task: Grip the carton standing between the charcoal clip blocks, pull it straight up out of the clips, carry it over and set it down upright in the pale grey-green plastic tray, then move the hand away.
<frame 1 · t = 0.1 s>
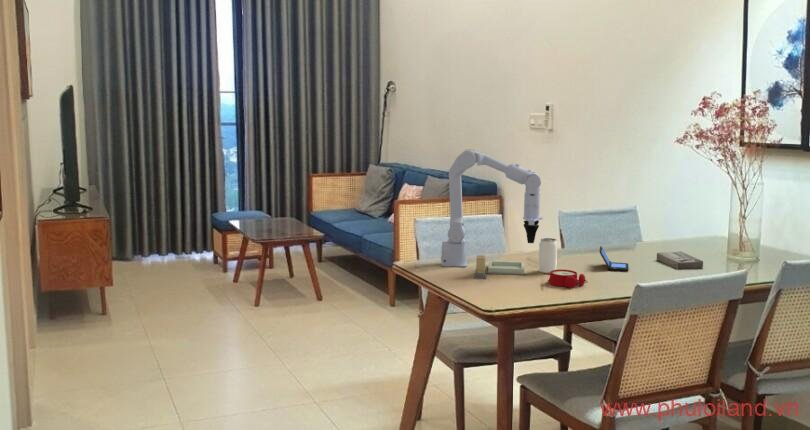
hand: (530, 241, 292), 10 cm above the table, fingers open, 7 cm apart
can: (547, 272, 287), on the table
carton: (480, 275, 279), on the table
tray: (506, 270, 288), on the table
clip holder: (480, 275, 279), on the table
box: (679, 265, 301), on the table
handheld game console: (613, 268, 294), on the table
alarm clock: (567, 285, 267), on the table
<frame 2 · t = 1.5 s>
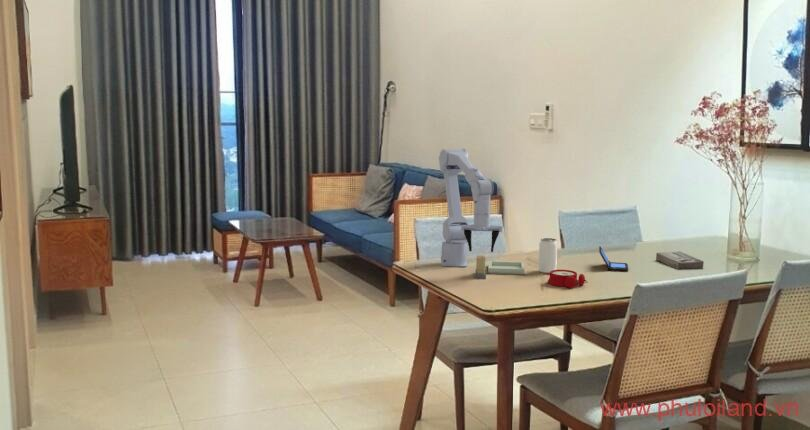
hand: (481, 251, 278), 9 cm above the table, fingers open, 7 cm apart
nothing on the table moved.
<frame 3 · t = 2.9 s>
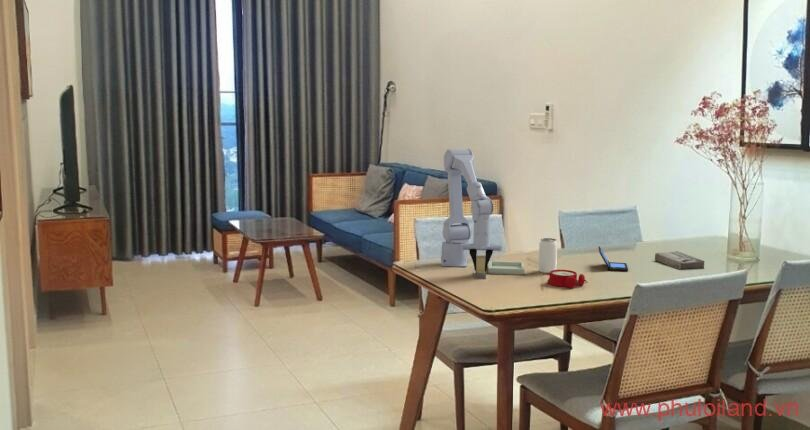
hand: (480, 270, 279), 2 cm above the table, fingers closed on carton, 3 cm apart
carton: (480, 275, 279), on the table, touching gripper
everything else where it was.
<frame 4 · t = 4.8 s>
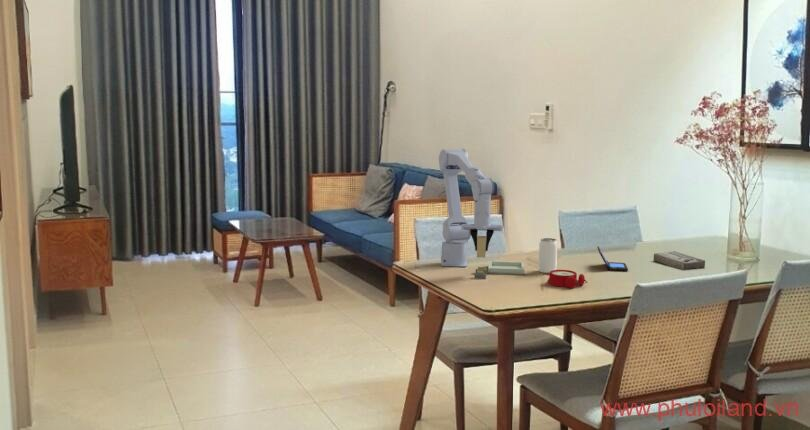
hand: (481, 250, 278), 9 cm above the table, fingers closed on carton, 3 cm apart
carton: (481, 256, 278), point 7 cm above the table, touching gripper
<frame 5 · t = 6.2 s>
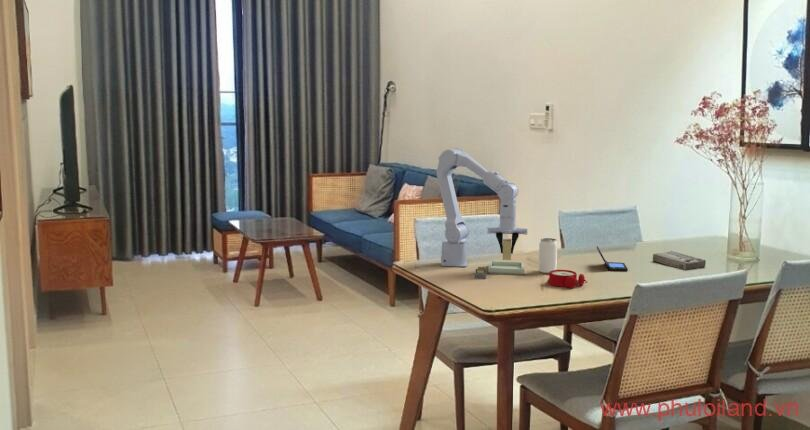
hand: (506, 253, 287), 6 cm above the table, fingers closed on carton, 3 cm apart
carton: (506, 258, 287), point 4 cm above the table, touching gripper
when the fingers open (4 cm above the table, at t = 7.0 s): carton drops 1 cm, resting on tray.
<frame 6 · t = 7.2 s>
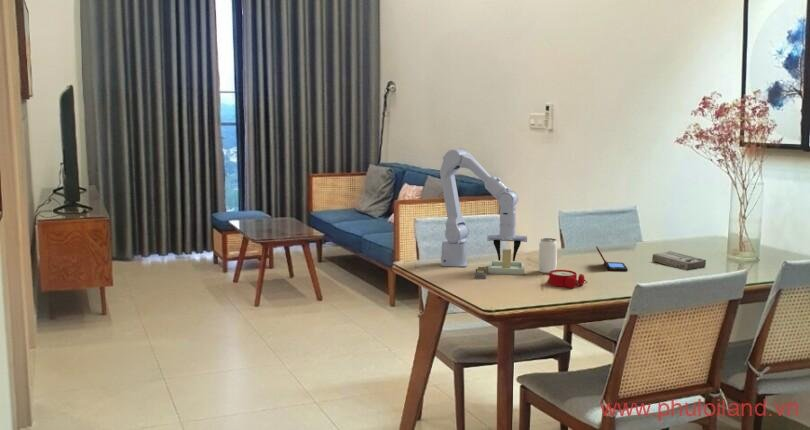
hand: (506, 260, 288), 4 cm above the table, fingers open, 5 cm apart
carton: (506, 269, 288), resting on tray
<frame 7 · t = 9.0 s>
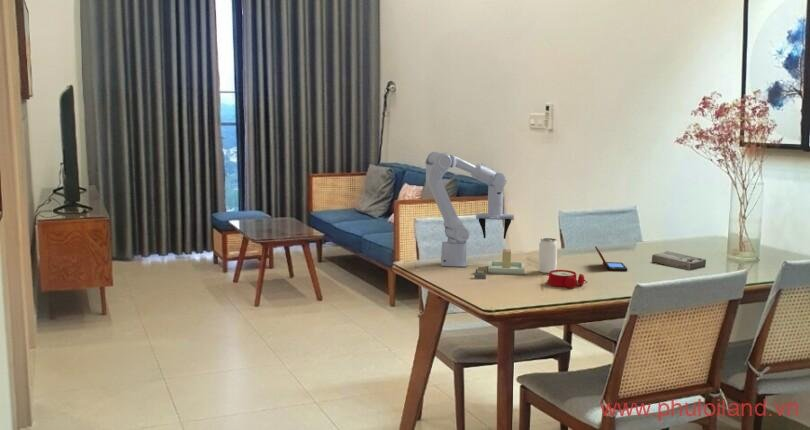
hand: (494, 238, 302), 9 cm above the table, fingers open, 7 cm apart
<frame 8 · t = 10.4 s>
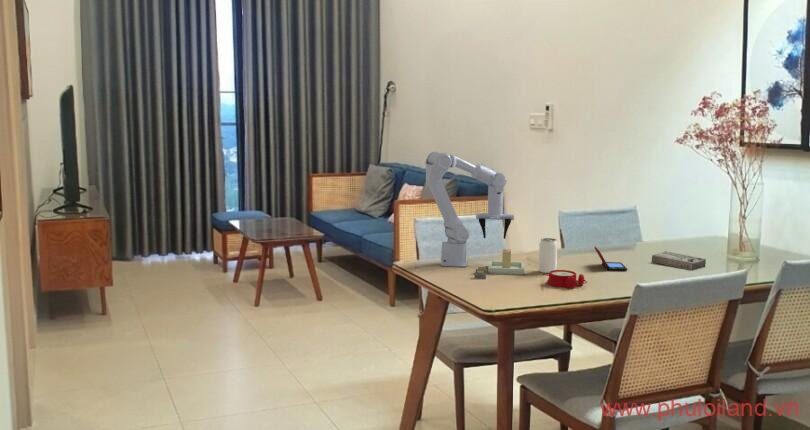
hand: (494, 238, 302), 9 cm above the table, fingers open, 7 cm apart
at the end: carton inside the target area on the tray (0.1 cm from its centre), point 0.5 cm above the tray's base; carton tilted 0°; the gripper is holding nothing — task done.
